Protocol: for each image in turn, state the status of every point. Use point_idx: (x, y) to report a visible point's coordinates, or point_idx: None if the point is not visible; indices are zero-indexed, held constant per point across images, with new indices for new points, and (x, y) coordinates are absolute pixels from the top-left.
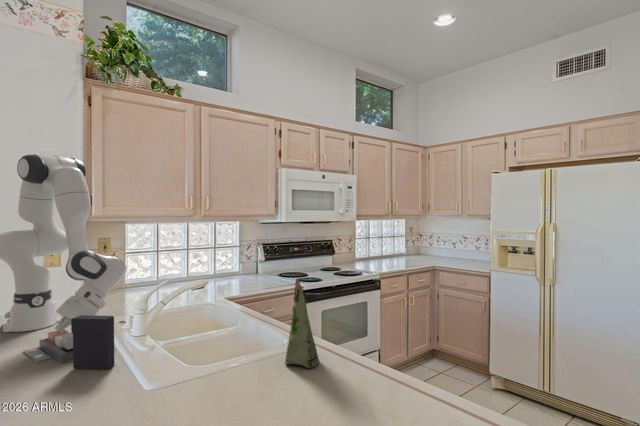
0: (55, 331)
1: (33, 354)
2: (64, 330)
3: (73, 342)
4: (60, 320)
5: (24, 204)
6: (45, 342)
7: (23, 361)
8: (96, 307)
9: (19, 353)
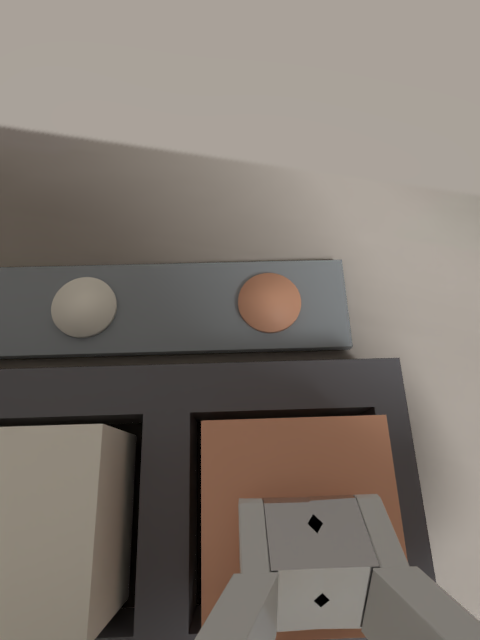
0: None
1: (175, 288)
2: None
3: None
4: (468, 638)
5: None
6: (257, 377)
7: (108, 224)
8: None
9: (327, 242)
